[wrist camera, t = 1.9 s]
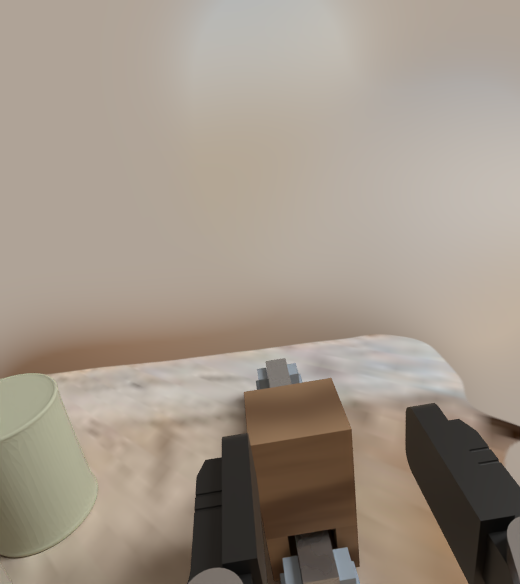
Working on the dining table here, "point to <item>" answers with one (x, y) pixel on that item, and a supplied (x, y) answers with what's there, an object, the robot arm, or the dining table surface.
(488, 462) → the robot arm
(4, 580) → the travel mug
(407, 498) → the dining table surface
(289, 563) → the grey angular blocks
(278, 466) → the wooden rectangular block
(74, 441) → the can
